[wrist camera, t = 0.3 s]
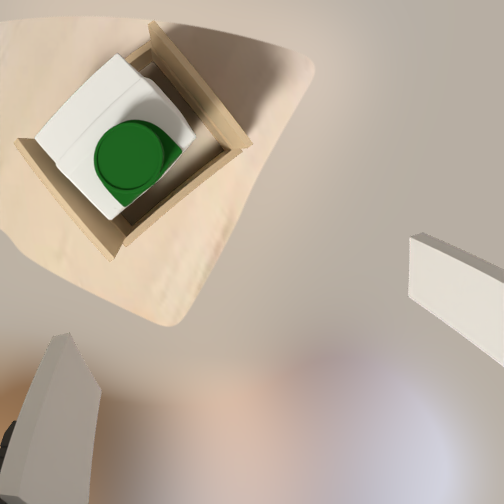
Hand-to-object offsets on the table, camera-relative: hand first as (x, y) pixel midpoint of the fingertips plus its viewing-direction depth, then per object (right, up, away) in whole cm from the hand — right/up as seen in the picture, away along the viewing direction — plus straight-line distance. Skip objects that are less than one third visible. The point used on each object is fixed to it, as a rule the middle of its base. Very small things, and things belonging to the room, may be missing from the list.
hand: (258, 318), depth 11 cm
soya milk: (-13, +15, +23) cm, 30 cm away
